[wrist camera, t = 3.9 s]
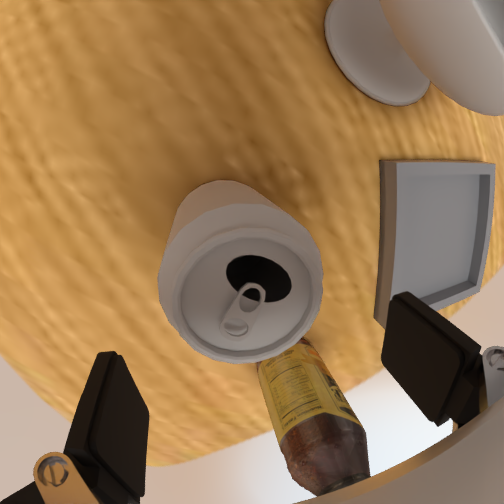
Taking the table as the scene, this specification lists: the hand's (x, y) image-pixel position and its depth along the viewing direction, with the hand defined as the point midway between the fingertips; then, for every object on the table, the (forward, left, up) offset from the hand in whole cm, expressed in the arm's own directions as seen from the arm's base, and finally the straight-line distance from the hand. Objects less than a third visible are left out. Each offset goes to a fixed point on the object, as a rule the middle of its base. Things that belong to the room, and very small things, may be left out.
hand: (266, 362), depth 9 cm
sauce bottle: (+13, +4, -15) cm, 20 cm away
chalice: (-16, +16, -15) cm, 27 cm away
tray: (+3, +22, -15) cm, 27 cm away
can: (-1, 0, -15) cm, 15 cm away
